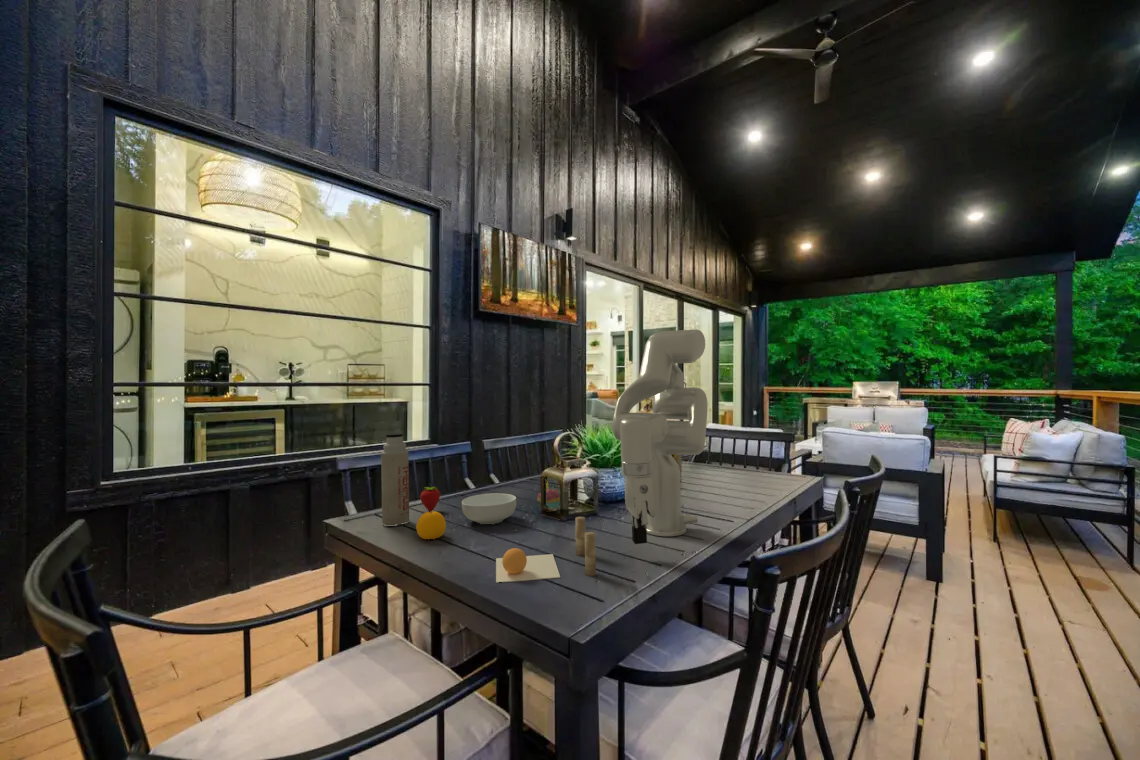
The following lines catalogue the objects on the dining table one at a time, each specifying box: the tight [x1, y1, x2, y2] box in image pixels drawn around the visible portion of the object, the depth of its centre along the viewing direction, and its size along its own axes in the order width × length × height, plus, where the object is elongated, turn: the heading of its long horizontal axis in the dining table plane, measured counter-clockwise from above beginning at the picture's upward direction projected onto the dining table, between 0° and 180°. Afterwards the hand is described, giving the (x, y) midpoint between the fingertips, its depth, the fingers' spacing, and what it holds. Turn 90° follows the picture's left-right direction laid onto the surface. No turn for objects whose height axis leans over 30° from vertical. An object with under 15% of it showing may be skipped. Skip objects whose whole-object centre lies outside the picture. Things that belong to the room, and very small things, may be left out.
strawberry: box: [419, 484, 441, 512], centre depth 159 cm, size 6×8×10 cm
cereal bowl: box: [461, 492, 517, 525], centre depth 148 cm, size 17×17×7 cm
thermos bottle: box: [380, 432, 410, 525], centre depth 147 cm, size 8×8×28 cm
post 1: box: [575, 516, 586, 557], centre depth 118 cm, size 2×2×9 cm
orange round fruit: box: [415, 510, 447, 541], centre depth 132 cm, size 8×8×8 cm
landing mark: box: [495, 553, 561, 584], centre depth 110 cm, size 14×14×1 cm
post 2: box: [584, 531, 597, 577], centre depth 106 cm, size 2×2×9 cm
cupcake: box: [537, 481, 561, 509], centre depth 159 cm, size 9×8×12 cm
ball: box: [502, 547, 527, 574], centre depth 107 cm, size 6×6×6 cm
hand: (639, 542), depth 115 cm, fingers closed
